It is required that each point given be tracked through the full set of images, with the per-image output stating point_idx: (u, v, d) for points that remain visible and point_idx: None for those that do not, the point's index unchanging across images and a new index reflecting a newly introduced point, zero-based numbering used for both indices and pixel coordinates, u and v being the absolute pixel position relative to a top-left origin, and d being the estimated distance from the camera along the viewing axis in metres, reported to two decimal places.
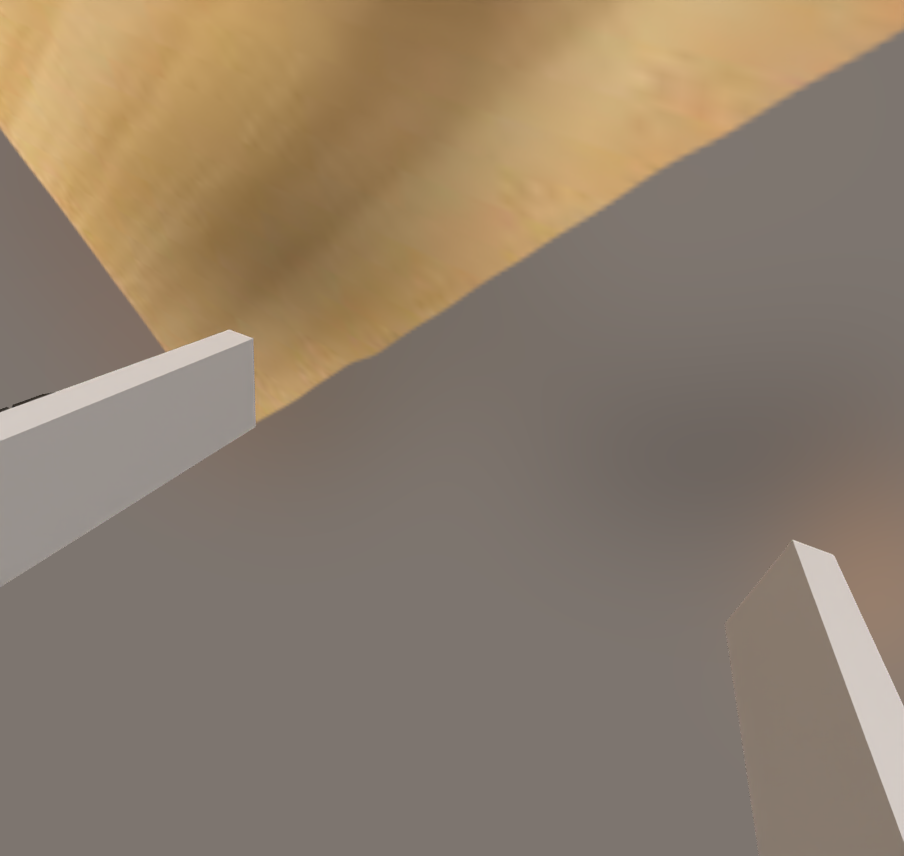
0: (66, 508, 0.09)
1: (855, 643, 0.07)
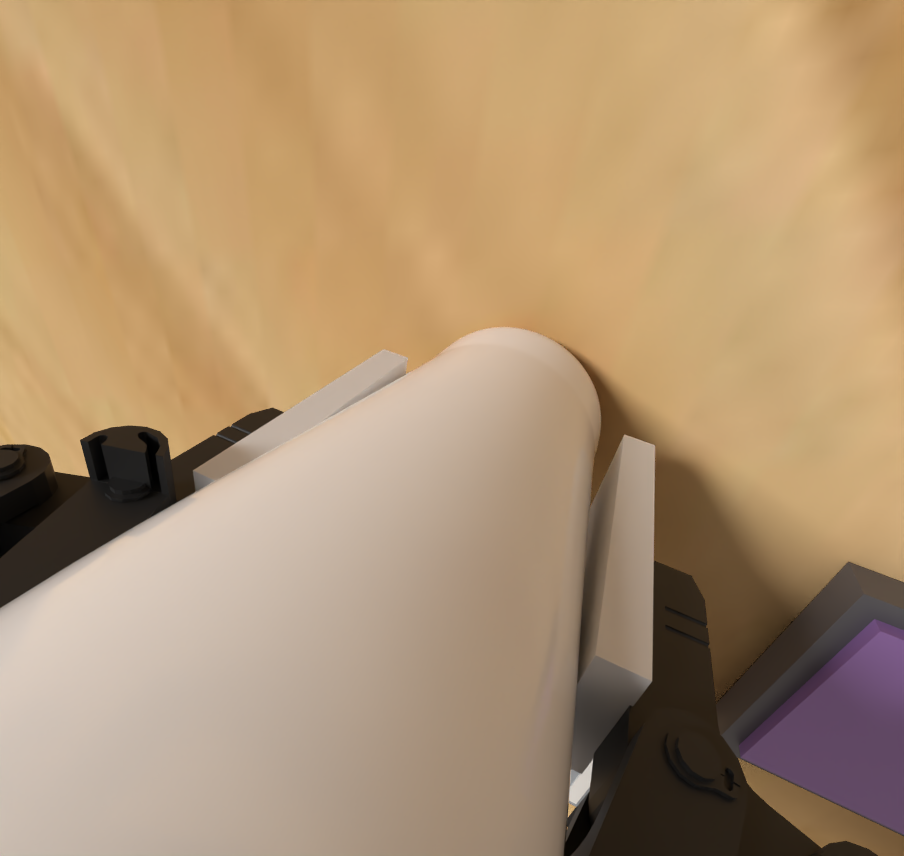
0: None
1: (638, 492, 0.10)
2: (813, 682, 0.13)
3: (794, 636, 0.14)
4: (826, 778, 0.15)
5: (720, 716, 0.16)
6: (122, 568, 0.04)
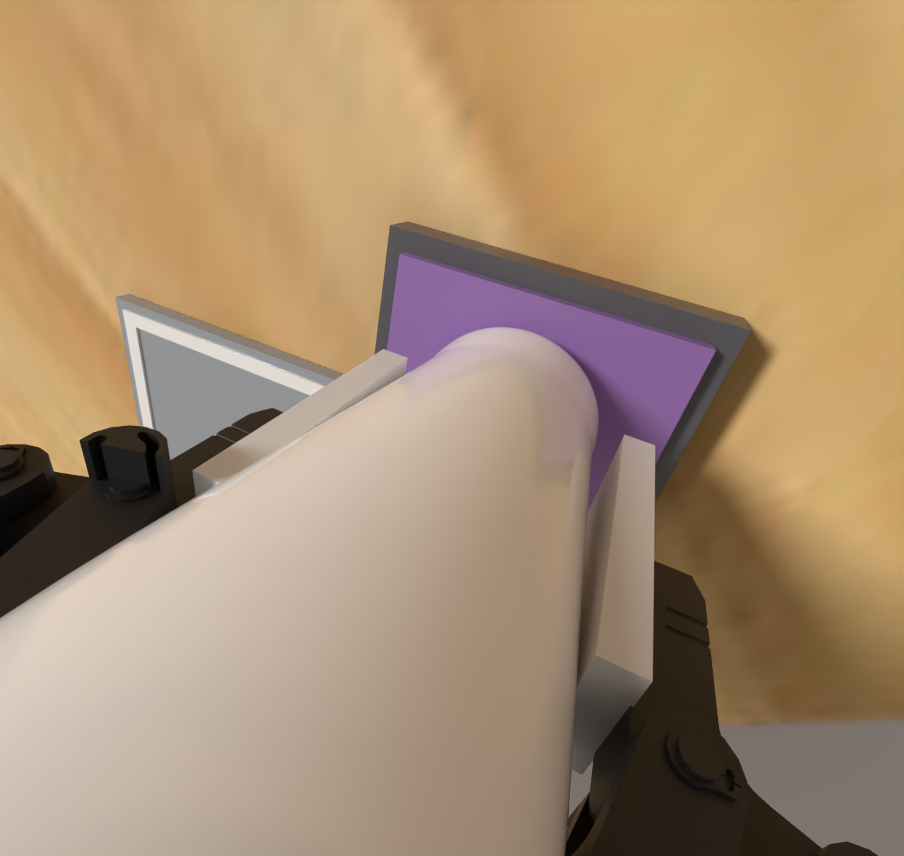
0: None
1: (638, 492, 0.10)
2: None
3: None
4: None
5: None
6: (118, 581, 0.04)
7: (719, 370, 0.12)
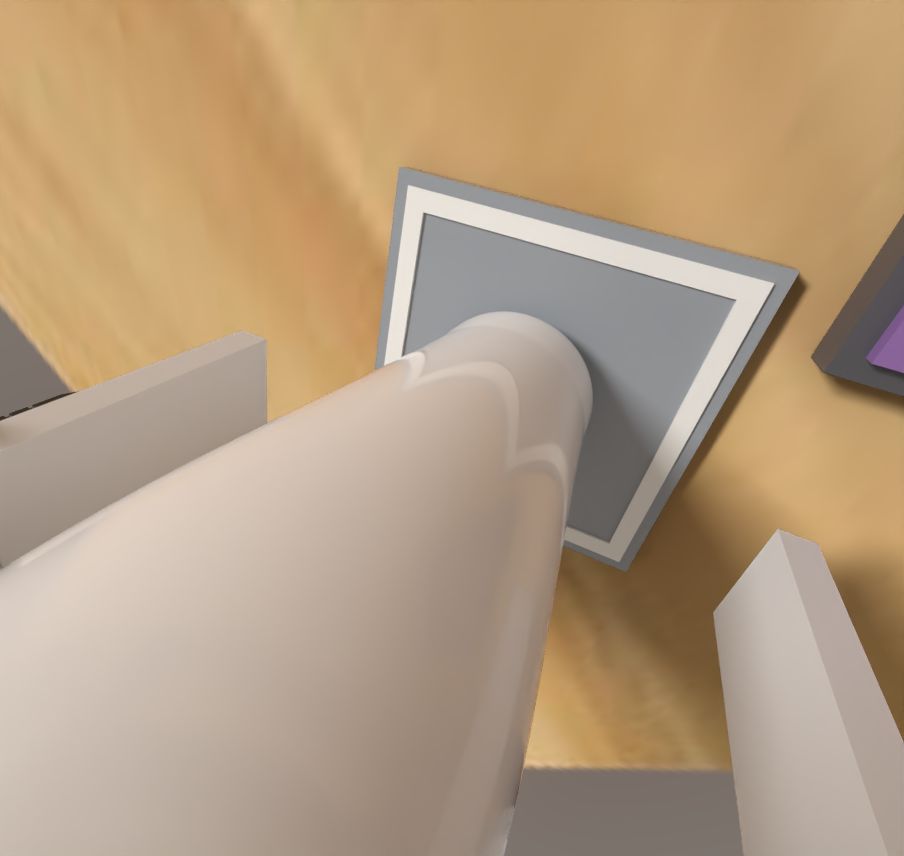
0: (86, 507, 0.09)
1: (835, 627, 0.08)
2: None
3: None
4: None
5: (835, 336, 0.12)
6: (191, 482, 0.05)
7: None
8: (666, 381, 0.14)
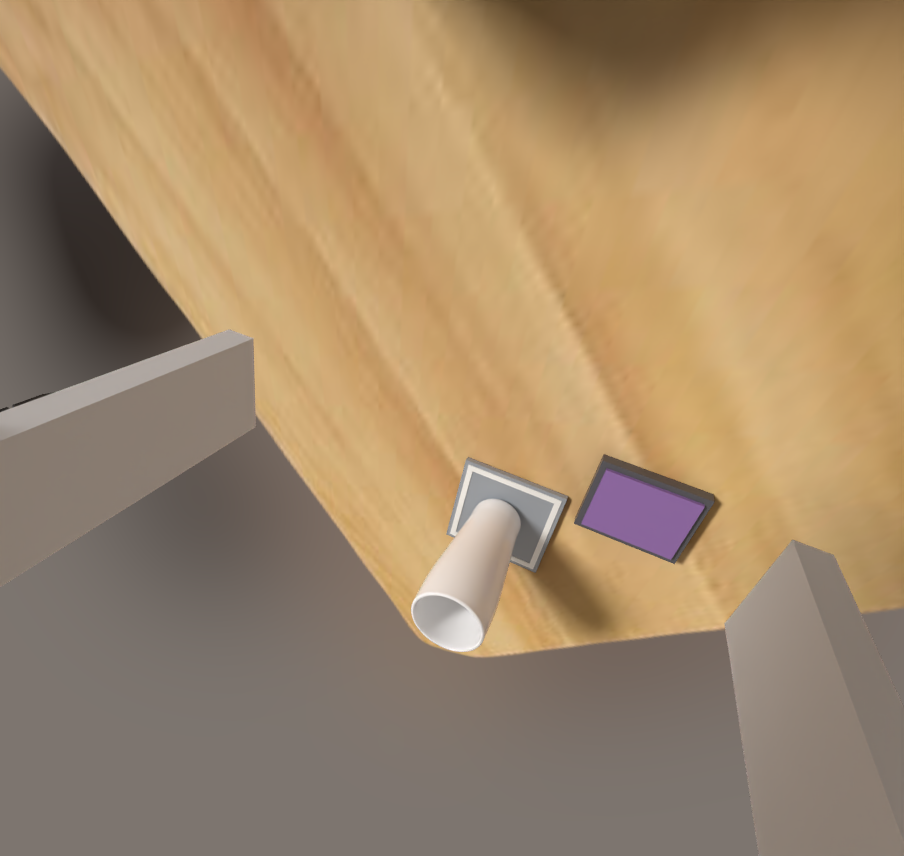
0: (66, 508, 0.09)
1: (855, 643, 0.07)
2: (596, 491, 0.45)
3: (593, 479, 0.46)
4: (605, 525, 0.46)
5: (577, 514, 0.48)
6: (456, 560, 0.41)
7: (705, 510, 0.42)
8: (540, 519, 0.50)
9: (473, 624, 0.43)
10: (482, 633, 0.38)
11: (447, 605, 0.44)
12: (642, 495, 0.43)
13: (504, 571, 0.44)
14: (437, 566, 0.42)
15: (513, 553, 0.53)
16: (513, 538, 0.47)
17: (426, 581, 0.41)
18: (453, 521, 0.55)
